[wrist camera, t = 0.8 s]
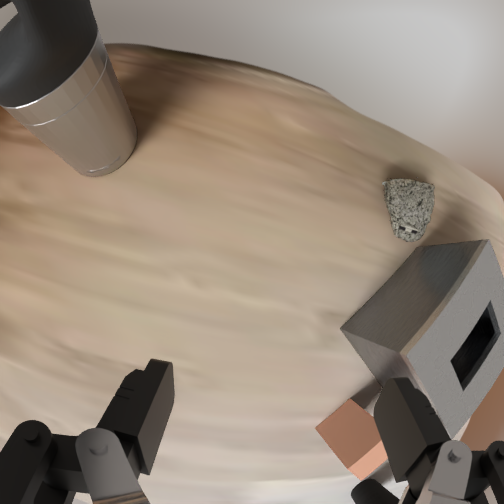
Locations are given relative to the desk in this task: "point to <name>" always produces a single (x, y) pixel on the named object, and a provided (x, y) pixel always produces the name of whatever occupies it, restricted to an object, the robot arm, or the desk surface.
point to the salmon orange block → (354, 439)
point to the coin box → (438, 327)
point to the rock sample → (409, 207)
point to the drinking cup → (372, 493)
